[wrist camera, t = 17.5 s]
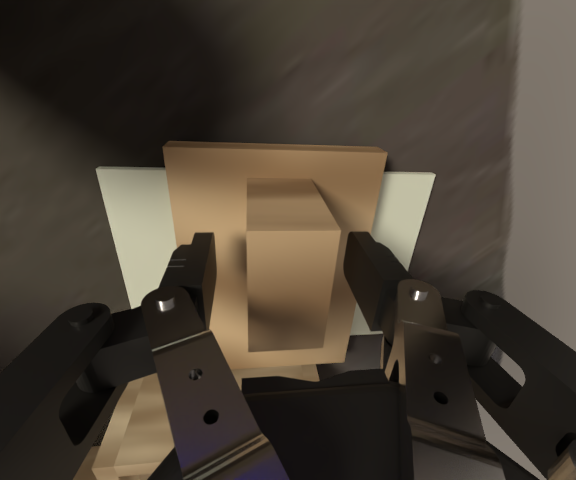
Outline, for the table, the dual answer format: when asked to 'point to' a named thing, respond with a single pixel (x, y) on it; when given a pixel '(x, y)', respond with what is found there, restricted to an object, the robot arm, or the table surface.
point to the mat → (161, 236)
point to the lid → (276, 241)
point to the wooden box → (152, 427)
